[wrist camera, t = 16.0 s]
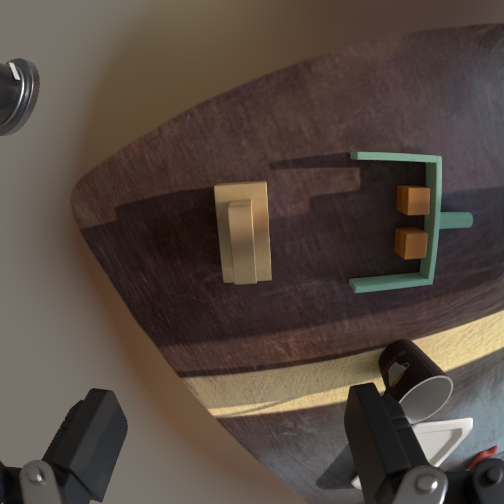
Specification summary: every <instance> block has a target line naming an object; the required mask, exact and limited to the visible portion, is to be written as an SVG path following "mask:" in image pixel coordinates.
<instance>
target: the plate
mask: <svg viewBox="0 0 504 504" xmlns="http://www.w3.org/2000/svg"><path fill="white" fill-rule="evenodd" d="M410 427H412V429H413V431H414V433H415V435H416V437H417V439H418V441H419V443H420V446H421V448H422V450H423V452H424V454H425V456H426V458H427V460H428V462H429V463H430V464H431V465H432V466H436V467H438V466H439V465H440V464H441V463H442V462H443V461H444V460H445V459H446V458H447V457H448V456H449V454H450V453H451V452H452V451H453V450H454V449H455V448H456V447H457V446H458V445H459V444H460V443H461V441H462V440H463V439H464V438H465V437H466V436H467V435H468V433H469V432H470V431H471V429H472V418H464V419H456V420H447V421H436V422H423V423H416V424H414V425H412V426H410ZM351 484H352V485H353V486H354V487H355V488H356V489H359V490H361V489H362V488H361V484H360V481H359V477H358V475H357V476H356V477H355V478H354V479H353V480H352V481H351Z"/></svg>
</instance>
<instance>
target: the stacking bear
mask: <svg viewBox="0 0 504 504" xmlns="http://www.w3.org/2000/svg"><path fill="white" fill-rule="evenodd" d="M496 451H497V446H494V447H492V448H491V449H489V450H487V451H482V452H480V453H478V454H477V455H476V456H475V457H474V458H473V459H472V460H471V462H470V463H469V465H468V469H469V470H474V469H475V468H476V466H477V465H478V464H479V463H480V462H482V461H483V460H486V459H489V458H494V457H493V455H494V454H495V453H496Z"/></svg>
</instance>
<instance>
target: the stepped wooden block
mask: <svg viewBox="0 0 504 504" xmlns="http://www.w3.org/2000/svg"><path fill="white" fill-rule="evenodd" d="M214 194H215V205H216V215H217V226H218V236H219V246H220V255H221V264H222V274H223V282H224V283H233V282H234V284H235V285H238V284H255V283H257V281H265V280H272V276H271V256H270V238H269V220H268V203H267V186H266V181H265V180H263V181H248V182H234V183H222V184H216V185H215V186H214Z"/></svg>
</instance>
